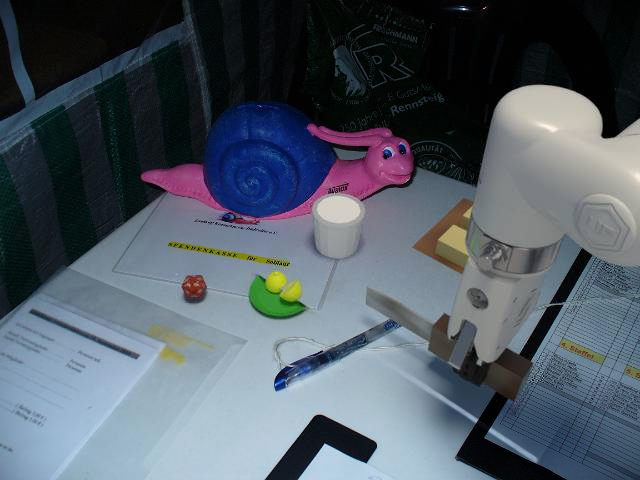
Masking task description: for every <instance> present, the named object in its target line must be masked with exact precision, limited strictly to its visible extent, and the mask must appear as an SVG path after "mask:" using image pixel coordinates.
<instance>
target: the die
mask: <svg viewBox="0 0 640 480" xmlns="http://www.w3.org/2000/svg"><path fill="white" fill-rule="evenodd" d="M180 288H181V289H182V291H183V294H184V296H185V297H186V299H187V300H192V299H202V298H203V297H204V295H205V293H206V291H207V289H208V285H207V283H206V281H205V279H204V277H203V275H202V274H193V275H186V276H185V278H184V280H183V282H182V284H181V286H180Z"/></svg>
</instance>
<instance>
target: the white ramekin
mask: <svg viewBox="0 0 640 480" xmlns="http://www.w3.org/2000/svg"><path fill="white" fill-rule="evenodd" d="M311 215H312V225H313V234H314V235H313V236H314V244H315V247H316V250H317V251H318V252H319V253H320V254H321V255H323V256H325V257H327V258H329V259H336V260H338V259H346V258H347V257H350V256H353V255H354V254H355V253H356V252H357V251H358V247H359V244H360V239H361V234H362V230H363V225H364V220H365V215H366V207H365V205H364V203H363V202H362V201H361V200H360V199H359V198H358V197H355V196H354V195H351V194H348V193H342V192H334V193H327V194H325V195H322V196H320V197H318V198H317V199H316V200H315V201H314V202H313V205H312V206H311Z"/></svg>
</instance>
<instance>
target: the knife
mask: <svg viewBox="0 0 640 480" xmlns="http://www.w3.org/2000/svg"><path fill="white" fill-rule="evenodd" d="M365 305H366V306H368V307H369V308H371V309H373V310H374V311H376V312H378V313H380V314H381V315H383V316H385V317H386V318H388V319H390V320H391V321H393V322H395V323H396V324H398V325H400V326H401V327H403V328H405V329H406V330H408V331H409V332H411V333H413V334H415V335H416V336H418V337H419V338H421V339H423V340H424V341H426V342H428V347H427V351H428V352H430V353H432V354H434V355H435V356H437V357H438V358H439V359H441V360H443V361H445V362H446V363H448V361H449V359H450V357H451V354H452V352H453V350H454V347H455V345H456V343H457V340H458V338H459V336H460V334H459V335H458V337H457V338H456V339H455V340H454V341H453V340H452V341H449V338H448V333H447V331H448V324H449V319H450V315H449V314H448V313H446V312H444V313H443V314H442V315H441V316H440V317H439V318H438V319H437V320H436V322H434V321H432V320H430V319H429V318H427V317H425V316H424V315H422V314H420V313H419V312H417V311H415V310H413V309H412V308H410V307H408V306H406V305H405V304H402V303H401V302H399V301H397V300H396V299H394V298H392V297H390V296H389V295H387V294H385V293H384V292H382V291H380V290H378V289H377V288H375V287H374V286H371V285H370V284H368V285H367V286H366V293H365ZM473 347H474V348H475V345H473ZM534 364H535V363H534V362H533V361H532V360H529V359H528V358H527V357H525V356H522V355H521V354H519V353H517V352H516V351H513V350H512V349H510V348H508V347H506V349H505V350H504V351H503V353H502V354H501V355H500V356H499V357H498V358H497V359H496V360H495V361H493V362H490V363H489V365H488V368H487V371H486V374H485V378H484V381H483V383H482V385H485V386H486V387H488V388H490V389H492V391H494V392H496V393H498V394H499V395H501V396H503V397H504V398H506V399H508V400H509V401H511V402H512V403H514V402H516V400H517V399H518V397H519V396H520V394H521V392H522V391H523V390H524V388H525V386H526V384H527V381H528V379H529V376H530V374H531V371H532V369H533V366H534Z"/></svg>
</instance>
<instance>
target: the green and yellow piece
mask: <svg viewBox="0 0 640 480" xmlns="http://www.w3.org/2000/svg"><path fill="white" fill-rule="evenodd" d="M283 287H284V288H283ZM282 288H283V289H282ZM248 289H249V290H248V291H249V292H248V295H249V296H248V297H249V300H250V302H251V304H252V305H253V306H254V307H255V308H256V309H257V310H258V311H260V312H262V313H263V314H266V315H269V316H274V317H287V316H292V315H295V314H297V313H299V312H302V311H303V310H304V309H305V308H307V307H308V306H307V305H306V304H304V303H303V302H301V301H300V300H299V299H300V298H301V296H302V293H303V290H302V289H303V288H302V285H301V283H300V282H299V280H298V279H295V280H292V281H291V282H289V283H288V278H287V276H286V274H284V272H281V271H279V270H278V271H277V270H276V271H272V272H270V273H269V274H268V275H267V277H266V278H265V277H263V276H261V275H260V274H259V275H257V276H256V277H255V278H254V279H253V281H252V282H251V284H250V285H249V288H248Z"/></svg>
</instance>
